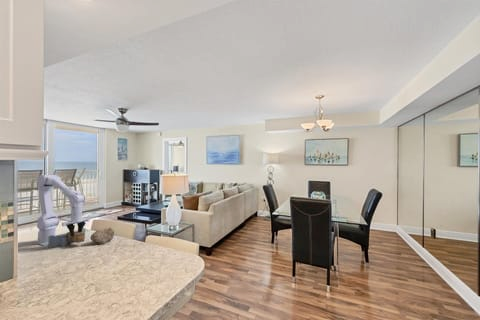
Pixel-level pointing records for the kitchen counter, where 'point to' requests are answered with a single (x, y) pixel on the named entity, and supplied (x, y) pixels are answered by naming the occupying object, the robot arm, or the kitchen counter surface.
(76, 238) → the brown block
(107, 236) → the coral
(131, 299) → the kitchen counter surface
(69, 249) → the kitchen counter surface
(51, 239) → the blue-grey stepped platform
